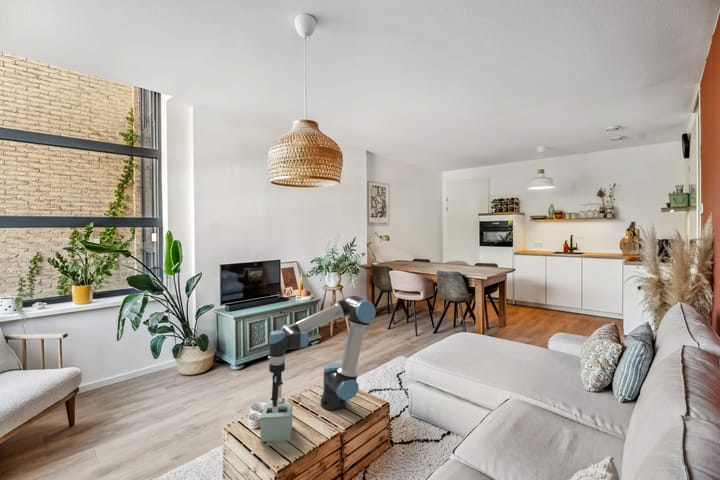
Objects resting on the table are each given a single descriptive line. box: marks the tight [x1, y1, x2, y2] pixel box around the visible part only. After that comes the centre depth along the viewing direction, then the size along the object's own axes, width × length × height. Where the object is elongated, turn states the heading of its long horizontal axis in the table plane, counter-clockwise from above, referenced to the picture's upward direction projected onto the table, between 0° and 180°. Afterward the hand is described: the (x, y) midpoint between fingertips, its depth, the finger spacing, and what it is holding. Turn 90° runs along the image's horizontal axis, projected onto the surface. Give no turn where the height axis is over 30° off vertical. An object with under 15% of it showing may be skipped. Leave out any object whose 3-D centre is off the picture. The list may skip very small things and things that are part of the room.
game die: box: [278, 397, 286, 404], centre depth 191 cm, size 9×8×10 cm
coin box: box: [259, 402, 293, 443], centre depth 173 cm, size 14×12×12 cm
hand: (277, 404), depth 173 cm, fingers open, 13 cm apart
